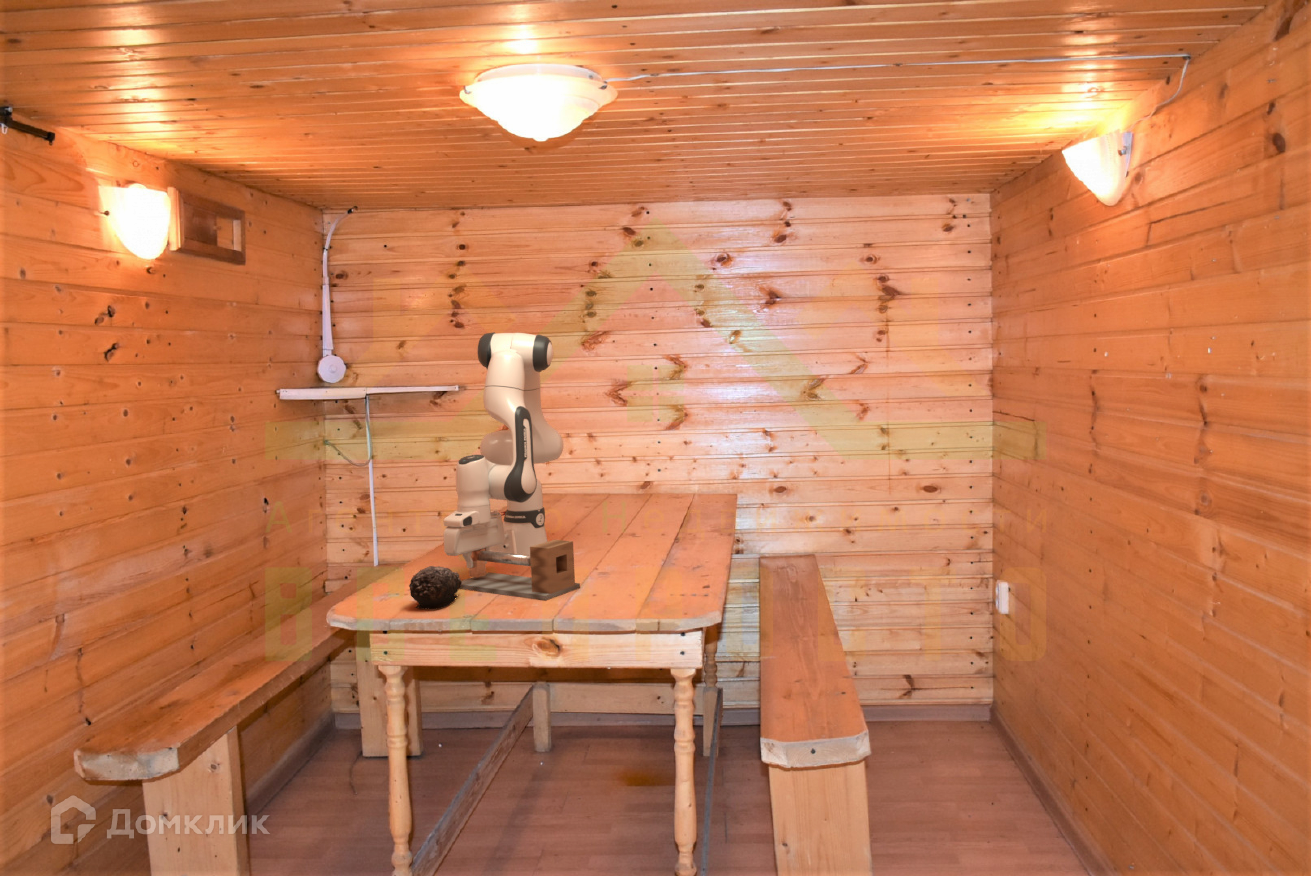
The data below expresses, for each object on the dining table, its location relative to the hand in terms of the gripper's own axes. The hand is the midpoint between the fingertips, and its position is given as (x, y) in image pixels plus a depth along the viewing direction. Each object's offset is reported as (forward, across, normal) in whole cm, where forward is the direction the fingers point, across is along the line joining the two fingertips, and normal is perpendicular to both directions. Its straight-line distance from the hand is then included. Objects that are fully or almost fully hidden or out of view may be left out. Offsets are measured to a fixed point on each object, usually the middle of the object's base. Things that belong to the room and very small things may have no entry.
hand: (477, 565), depth 252 cm
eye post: (+5, 0, +14) cm, 14 cm away
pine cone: (+5, +20, +5) cm, 21 cm away
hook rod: (+3, 0, +9) cm, 9 cm away
